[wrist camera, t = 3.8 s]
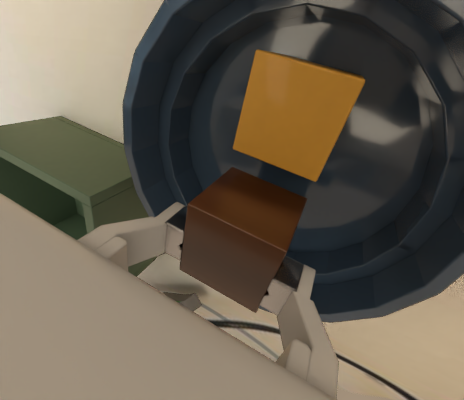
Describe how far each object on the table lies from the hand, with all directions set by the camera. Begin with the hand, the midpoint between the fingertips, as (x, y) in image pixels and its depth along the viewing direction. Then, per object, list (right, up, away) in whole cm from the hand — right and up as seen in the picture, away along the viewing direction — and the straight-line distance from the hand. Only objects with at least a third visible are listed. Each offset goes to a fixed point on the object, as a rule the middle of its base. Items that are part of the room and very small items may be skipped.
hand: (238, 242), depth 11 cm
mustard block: (+4, +7, +1) cm, 8 cm away
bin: (-12, +3, +13) cm, 18 cm away
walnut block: (+1, +1, +2) cm, 2 cm away
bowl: (+3, +5, +3) cm, 7 cm away
